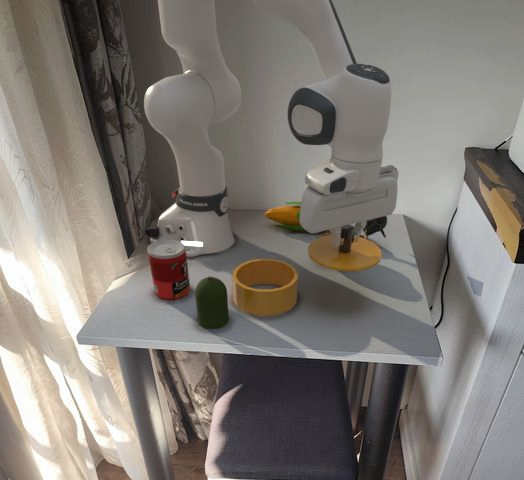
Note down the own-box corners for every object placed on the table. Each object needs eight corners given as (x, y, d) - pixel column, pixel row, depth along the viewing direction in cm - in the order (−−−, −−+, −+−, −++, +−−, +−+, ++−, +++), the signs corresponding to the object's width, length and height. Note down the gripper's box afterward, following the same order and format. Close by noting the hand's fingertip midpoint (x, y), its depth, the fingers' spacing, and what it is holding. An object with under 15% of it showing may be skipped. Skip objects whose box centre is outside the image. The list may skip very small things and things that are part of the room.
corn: (337, 209, 120) (261, 203, 123) (334, 237, 124) (261, 231, 127) (339, 200, 126) (266, 195, 129) (336, 227, 130) (266, 222, 133)
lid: (296, 263, 90) (298, 234, 86) (322, 234, 101) (324, 206, 97) (369, 281, 86) (374, 250, 82) (388, 248, 96) (394, 219, 92)
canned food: (180, 304, 99) (174, 258, 93) (148, 297, 102) (139, 252, 95) (196, 287, 105) (191, 242, 98) (165, 281, 107) (158, 236, 100)
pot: (222, 308, 98) (220, 282, 94) (251, 279, 108) (250, 254, 104) (281, 324, 94) (281, 297, 90) (306, 292, 103) (307, 266, 99)
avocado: (192, 326, 93) (186, 281, 87) (208, 311, 98) (204, 266, 91) (219, 334, 91) (215, 288, 84) (234, 318, 95) (232, 273, 89)
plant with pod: (387, 254, 117) (401, 173, 104) (341, 252, 118) (351, 172, 105) (383, 240, 123) (396, 162, 111) (340, 238, 124) (348, 161, 111)
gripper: (388, 158, 89) (376, 226, 97) (297, 175, 81) (293, 247, 90) (411, 168, 84) (396, 238, 93) (317, 187, 77) (311, 261, 86)
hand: (345, 243), depth 91 cm, fingers closed on lid, 2 cm apart
